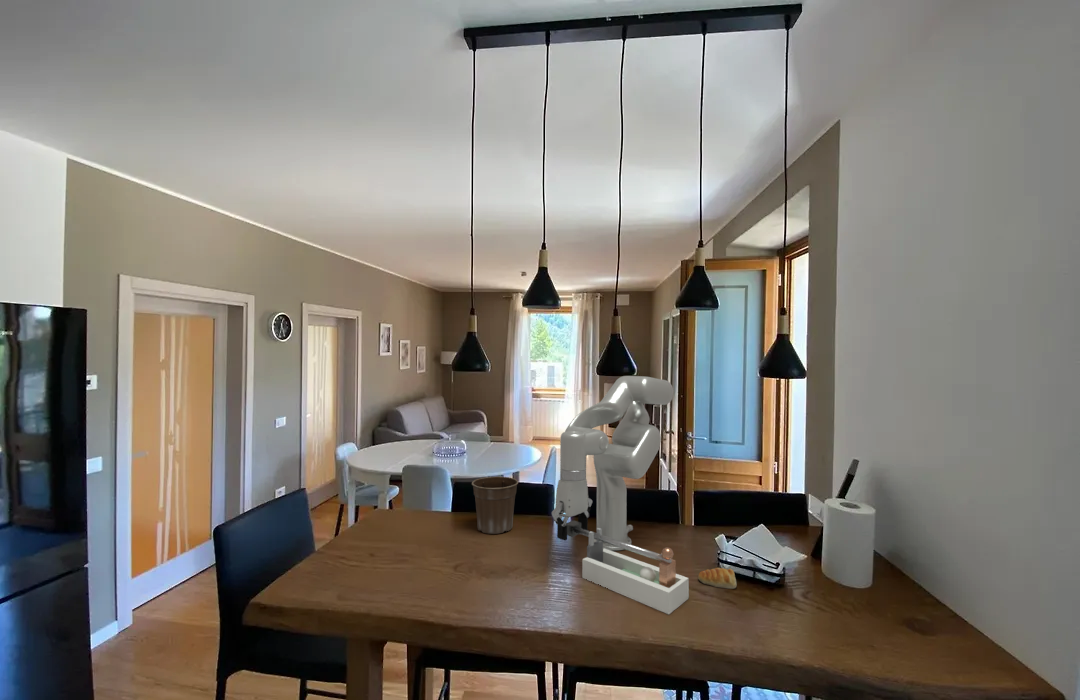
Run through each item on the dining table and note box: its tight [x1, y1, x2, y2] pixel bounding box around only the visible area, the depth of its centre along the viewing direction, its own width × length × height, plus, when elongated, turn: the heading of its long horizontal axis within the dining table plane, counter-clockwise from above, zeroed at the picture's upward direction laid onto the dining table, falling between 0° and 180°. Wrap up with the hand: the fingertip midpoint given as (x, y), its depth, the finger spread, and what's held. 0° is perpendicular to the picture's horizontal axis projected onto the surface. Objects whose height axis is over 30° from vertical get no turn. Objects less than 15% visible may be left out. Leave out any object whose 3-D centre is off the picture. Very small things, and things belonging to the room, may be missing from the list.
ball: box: [640, 567, 656, 582], centre depth 116 cm, size 4×4×4 cm
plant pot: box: [471, 476, 519, 535], centre depth 160 cm, size 16×16×16 cm
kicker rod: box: [565, 520, 677, 588], centre depth 122 cm, size 4×33×10 cm, turn 46°
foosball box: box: [581, 527, 690, 615], centre depth 119 cm, size 10×26×12 cm, turn 46°
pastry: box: [697, 567, 737, 590], centre depth 122 cm, size 9×7×4 cm
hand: (572, 534), depth 133 cm, fingers open, 8 cm apart
